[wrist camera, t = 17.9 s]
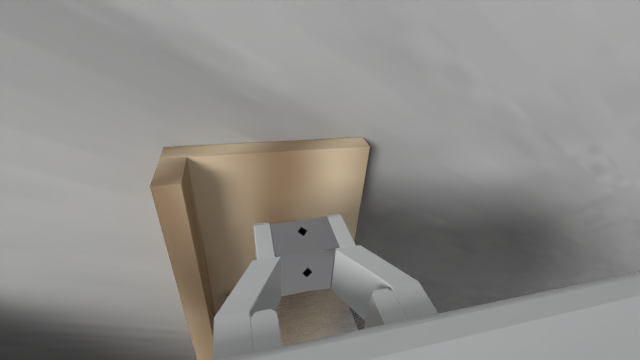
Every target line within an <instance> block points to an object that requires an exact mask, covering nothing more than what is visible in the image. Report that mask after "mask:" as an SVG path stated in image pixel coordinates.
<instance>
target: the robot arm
mask: <svg viewBox="0 0 640 360" xmlns="http://www.w3.org/2000/svg"><path fill="white" fill-rule="evenodd" d="M254 242H255V257H256V260H253V261H252V262H251V264H250V265H249V267H248V268H247V270H246V271H245V273H244V274H243V276H242V277H241V278H240V280H239V281H238V283H237V284H236V286H235V287H234V289H233V290H232V292H231V293H230V295H229V296H228V298H227V299H226V301H225V302H224V304H223V305H222V307H221V308H220V310H219V311H218V312H217V314H216V315H215V317H214V331H213V360H640V271H637V272H633V273H628V274H623V275H619V276H614V277H609V278H604V279H600V280H595V281H590V282H585V283H581V284H576V285H571V286H566V287H562V288H557V289H552V290H547V291H542V292H538V293H533V294H528V295H523V296H519V297H514V298H509V299H504V300H499V301H495V302H490V303H485V304H480V305H475V306H471V307H466V308H461V309H456V310H452V311H447V312H442V313H438V312H437V310H436V308H435V307H434V305H433V304H432V302H431V300H430V299H429V297H428V296H427V294H426V292H425V291H424V289H423V288H422V286H421V285H420V283H419V281H417V280H415V279H414V278H412V277H411V276H409V275H407V274H406V273H404V272H403V271H401V270H399V269H398V268H396V267H395V266H393V265H391V264H390V263H388V262H387V261H385V260H383V259H382V258H380V257H379V256H377V255H375V254H374V253H372V252H371V251H369V250H367V249H366V248H364V247H363V246H361V245H357V246H356V244H355V242H354V240H353V238H352V236H351V234H350V232H349V230H348V228H347V226H346V224H345V222H344V220H343V218H342V216H341V215H340V214H334V215H327V216H321V217H313V218H305V219H296V220H285V221H274V222H269V223H268V222H266V223H256V224H254ZM327 288H331V290H332V291H334V292H335V293H336V294H337V295H338V296H339V297H340V298H341V299H342V300H343V301H344V302H345V303H346V304H347V305H348V306H349V307H350V308H352V309H353V310H354V311H355V312H356V313H357V314H358V315H359V316H360V317H361V318H362V319H363V320H364V321H365V325H364V329H361V330H357V331H352V332H347V333H342V334H337V335H333V336H328V337H323V338H318V339H313V340H309V341H304V342H299V343H294V344H290V345H285V346H282V341H281V335H280V329H279V323H278V317H277V312H276V309H277V307H278V304H279V302H280V300H281V296H286V295H291V294H296V293H301V292H306V291H313V290H320V289H327Z"/></svg>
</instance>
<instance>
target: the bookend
mask: <svg viewBox="0 0 640 360" xmlns="http://www.w3.org/2000/svg"><path fill="white" fill-rule="evenodd" d="M229 295H230V294H227V295H225V301H226V299H227V298H228V296H229ZM276 312H277V317H278V323H279V329H280V335H281V341H282V346H285V345H290V344H294V343H299V342H304V341H309V340H313V339H318V338H323V337H328V336H333V335H337V334H342V333H347V332H352V331H357V330H358V328H357V326H356V323H355V320H354V318H353V315H352V312H351V309H350V307H349V306H348V305H347V304H346V303H345V302H344V301H343V300H342V299H341V298H340V297H339V296H338V295H337V294H336V293H335V292H334V291H332V290H331V288H327V289H320V290H313V291H306V292H301V293H296V294H291V295H286V296H281V300H280V302H279V304H278V307H277V309H276Z"/></svg>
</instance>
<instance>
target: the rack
mask: <svg viewBox="0 0 640 360" xmlns="http://www.w3.org/2000/svg"><path fill="white" fill-rule="evenodd" d="M369 150H370V146H369V145H368V144H367V142H366V141H365V140H364V139H363V137H360V138H340V139H320V140H300V141H280V142H260V143H241V144H221V145H201V146H181V147H164V148H163V151H162V154H161V157H160V159H159V162H158V165H157V168H156V171H155V174H154V177H153V179H152V182H151V185H150V188H151V192H152V196H153V199H154V203H155V207H156V210H157V214H158V217H159V221H160V225H161V228H162V232H163V236H164V239H165V243H166V247H167V250H168V254H169V258H170V261H171V265H172V269H173V272H174V276H175V280H176V283H177V287H178V291H179V294H180V298H181V302H182V305H183V309H184V313H185V316H186V320H187V324H188V327H189V331H190V334H191V338H192V342H193V345H194V349H195V353H196V356H197V360H213V331H214V317H215V315H216V314H217V312H218V311H219V310H220V308H221V307H222V305H223V304H224V302H225V295H227V294H230V293H231V292H232V290H233V289H234V287H235V286H236V284H237V283H238V281H239V280H240V278H241V277H242V276H243V274H244V273H245V271H246V270H247V268H248V267H249V265H250V264H251V262H252V261H253V260H256V257H255V242H254V224H256V223H266V222H268V223H269V222H274V221H285V220H296V219H305V218H313V217H321V216H327V215H334V214H340V215H341V216H342V218H343V220H344V222H345V224H346V226H347V228H348V230H349V232H350V234H351V236H352V238H353V240H354V241H355V235H356V229H357V222H358V216H359V210H360V204H361V198H362V192H363V186H364V180H365V174H366V168H367V162H368V156H369Z"/></svg>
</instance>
